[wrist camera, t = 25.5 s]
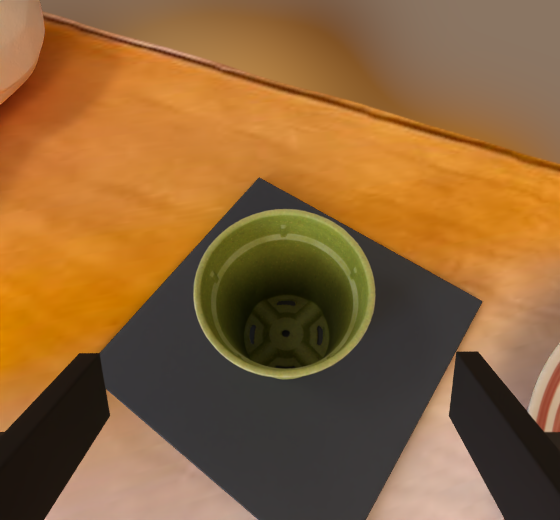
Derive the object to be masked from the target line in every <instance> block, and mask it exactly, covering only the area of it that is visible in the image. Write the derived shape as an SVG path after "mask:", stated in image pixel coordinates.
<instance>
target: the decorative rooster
mask: <svg viewBox="0 0 560 520" xmlns="http://www.w3.org/2000/svg"><path fill="white" fill-rule="evenodd" d="M44 35H45V26H44V19H43V13H42V8H41V4H40V0H0V105H1V104H2V103H3V102H4V101H5V100H6V99H7V98H9V97H10V96H11V95H12V94H13V93H14V92H15V91H16V90H17V89H18V88H19V87H20V86H21V85H22V84H23V83H24V82H25V81H26V80H27V79H28V78H29V77H30V75H31V74H32V72H33V71H34V69H35V67H36V64H37V62H38V59H39V54H40V51H41V48H42V44H43V40H44Z"/></svg>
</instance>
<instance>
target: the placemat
mask: <svg viewBox="0 0 560 520" xmlns="http://www.w3.org/2000/svg"><path fill="white" fill-rule="evenodd" d="M275 209H295V210H301V211H306V212H310V213H314V214H317V215H319V216H322V217H324V218H327V219H329V220H330V221H332V222H334V223H336V224H337V225H339V226H340V227H342V228H343V229H344V230H345V231H346V232H347V233H348V234H349V235H350V236H351V237H352V238H353V239H354V240H355V241H356V242H357V243H358V245H359V246H360V247H361V249H362V250H363V252H364V254H365V256H366V258H367V259H368V261H369V264H370V267H371V270H372V273H373V277H374V283H375V306H374V312H373V315H372V318H371V322H370V324H369V326H368V328H367V330H366V332H365V334H364V336H363V337H362V339H361V340H360V341H359V343H358V344H357V345H356V346H355V347H354V348H353V349H352V351H351V352H349V353H348V354H347V355H346V356H345V357H344V358H343V359H341V360H340V361H338V362H337V363H335V364H334V365H332V366H330V367H328V368H326V369H324V370H322V371H320V372H317V373H314V374H310V375H307V376H302V377H299V378H295V379H277V378H274V377H267V376H262V375H258V374H255V373H252V372H249V371H247V370H244V369H242V368H240V367H239V366H237V365H235V364H233V363H232V362H231V361H229V360H228V359H226V358H225V357H224V356H223V355H222V354H221V353H219V352H218V350H217V349H216V348H215V347H214V346H213V345H212V344H211V342H210V341H209V340H208V338H207V337H206V335H205V334H204V332H203V330H202V328H201V326H200V323H199V321H198V318H197V315H196V311H195V306H194V298H193V297H194V296H193V293H194V280H195V276H196V272H197V269H198V266H199V263H200V261H201V259H202V257H203V255H204V253H205V252H206V250H207V249H208V247H209V246H210V245H211V243H212V242H213V241H214V240H215V239H216V238H217V237H218V236H219V235H220V234H221V233H222V232H223V231H225V230H226V229H227V228H228V227H230V226H231V225H233V224H234V223H236V222H238V221H240V220H241V219H244V218H246V217H248V216H251V215H254V214H257V213H260V212H264V211H269V210H275ZM282 304H283V305H286V304H287V305H293V306H295V305H296V304H295V302H293V301H289V300H287V301H279V302H278V303H277V305H282ZM481 304H482V301H481V300H479V299H478V298H476V297H474V296H472V295H470V294H469V293H467V292H465V291H463V290H461V289H460V288H458V287H456V286H454V285H452V284H450V283H449V282H447V281H445V280H443V279H441V278H440V277H438V276H436V275H434V274H432V273H431V272H429V271H427V270H425V269H423V268H422V267H420V266H418V265H416V264H414V263H413V262H411V261H409V260H407V259H405V258H404V257H402V256H400V255H398V254H396V253H395V252H393V251H391V250H389V249H387V248H386V247H384V246H382V245H380V244H378V243H377V242H375V241H373V240H371V239H369V238H368V237H366V236H364V235H362V234H360V233H359V232H357V231H355V230H353V229H351V228H349V227H348V226H346V225H344V224H342V223H340V222H339V221H337V220H335V219H333V218H331V217H330V216H328V215H326V214H324V213H322V212H321V211H319V210H317V209H315V208H313V207H312V206H310V205H308V204H306V203H304V202H303V201H301V200H299V199H297V198H295V197H294V196H292V195H290V194H288V193H286V192H285V191H283V190H281V189H279V188H277V187H276V186H274V185H272V184H270V183H268V182H267V181H265V180H263V179H261V178H258V179H257V180H256V181H255V182H254V184H253V185H252V186H251V187H250V188H249V189H248V190H247V191H246V192H245V193H244V195H243V196H242V197H241V198H240V199H239V200H238V201H237V202H236V203H235V204H234V206H233V207H232V208H231V209H230V210H229V211H228V212H227V213H226V214H225V216H224V217H223V218H222V219H221V220H220V221H219V222H218V223H217V224H216V225H215V227H214V228H213V229H212V230H211V231H210V232H209V233H208V234H207V235H206V236H205V238H204V239H203V240H202V241H201V242H200V243H199V244H198V245H197V246H196V247H195V249H194V250H193V251H192V252H191V253H190V254H189V255H188V256H187V257H186V258H185V260H184V261H183V262H182V263H181V264H180V265H179V266H178V267H177V268H176V269H175V271H174V272H173V273H172V274H171V275H170V276H169V277H168V278H167V279H166V281H165V282H164V283H163V284H162V285H161V286H160V287H159V288H158V289H157V290H156V292H155V293H154V294H153V295H152V296H151V297H150V298H149V299H148V300H147V301H146V303H145V304H144V305H143V306H142V307H141V308H140V309H139V310H138V311H137V312H136V314H135V315H134V316H133V317H132V318H131V319H130V320H129V321H128V322H127V323H126V325H125V326H124V327H123V328H122V329H121V330H120V331H119V332H118V333H117V334H116V336H115V337H114V338H113V339H112V340H111V341H110V342H109V343H108V344H107V346H106V347H105V348H104V349H103V350H102V351H101V352H100V359H101V365H102V371H103V377H104V383H105V388H106V389H107V390H108V391H109V392H110V393H111V394H113V395H114V396H115V397H116V398H117V399H118V400H119V401H121V402H122V403H123V404H124V405H125V406H126V407H128V408H129V409H130V410H131V411H132V412H133V413H135V414H136V415H137V416H138V417H139V418H140V419H142V420H143V421H144V422H145V423H146V424H147V425H149V426H150V427H151V428H152V429H153V430H154V431H156V432H157V433H158V434H159V435H160V436H161V437H163V438H164V439H165V440H166V441H167V442H168V443H170V444H171V445H172V446H173V447H174V448H175V449H177V450H178V451H179V452H180V453H181V454H182V455H184V456H185V457H186V458H187V459H188V460H189V461H190V462H192V463H193V464H194V465H195V466H196V467H197V468H199V469H200V470H201V471H202V472H203V473H204V474H206V475H207V476H208V477H209V478H210V479H211V480H213V481H214V482H215V483H216V484H217V485H218V486H220V487H221V488H222V489H223V490H224V491H225V492H227V493H228V494H229V495H230V496H231V497H232V498H234V499H235V500H236V501H237V502H238V503H239V504H241V505H242V506H243V507H244V508H245V509H246V510H248V511H249V512H250V513H251V514H252V515H253V516H255V517H256V518H257V519H258V520H366V518H367V517H368V515H369V513H370V511H371V509H372V507H373V505H374V503H375V502H376V500H377V498H378V496H379V494H380V492H381V490H382V489H383V487H384V485H385V483H386V481H387V479H388V477H389V475H390V474H391V472H392V470H393V468H394V466H395V464H396V462H397V461H398V459H399V457H400V455H401V453H402V451H403V449H404V447H405V446H406V444H407V442H408V440H409V438H410V436H411V434H412V433H413V431H414V429H415V427H416V425H417V423H418V421H419V419H420V418H421V416H422V414H423V412H424V410H425V408H426V406H427V405H428V403H429V401H430V399H431V397H432V395H433V393H434V391H435V390H436V388H437V386H438V384H439V382H440V380H441V378H442V377H443V375H444V373H445V371H446V369H447V367H448V365H449V363H450V362H451V360H452V358H453V356H454V354H455V352H456V350H457V349H458V347H459V345H460V343H461V341H462V339H463V337H464V335H465V334H466V332H467V330H468V328H469V326H470V324H471V322H472V321H473V319H474V317H475V315H476V313H477V311H478V309H479V307H480V306H481ZM255 329H256V326H255V325H252V327H251V328H250V341H251V343H252V344H254V335H255ZM317 331H318V340H317V344H318V345H321V344H322V341H323V330H322V328H321V327H320V326H318V327H317ZM289 334H290V332H289V331H288V330H284V331H283V332H282V335H283V336H284V337H288V336H289ZM275 368H282V369H289V368H296V367H295V366H291V367H283V366H276V367H275Z"/></svg>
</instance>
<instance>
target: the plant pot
mask: <svg viewBox="0 0 560 520" xmlns="http://www.w3.org/2000/svg"><path fill="white" fill-rule="evenodd" d="M193 296H194V297H193V298H194V306H195V311H196V315H197V318H198V321H199V323H200V326H201V328H202V330H203V332H204V334H205V335H206V337H207V338H208V340H209V341H210V342H211V344H212V345H213V346H214V347H215V348H216V349H217V350H218V352H219V353H221V354H222V355H223V356H224V357H225V358H226V359H228V360H229V361H231V362H232V363H233V364H235V365H237V366H239V367H240V368H242V369H244V370H247V371H249V372H252V373H255V374H258V375H262V376H267V377H274V378H277V379H295V378H299V377H302V376H307V375H310V374H314V373H317V372H320V371H322V370H324V369H326V368H328V367H330V366H332V365H334V364H335V363H337V362H338V361H340V360H341V359H343V358H344V357H345V356H346V355H347V354H348V353H349V352H351V351H352V349H353V348H354V347H355V346H356V345H357V344H358V343H359V341H360V340H361V339H362V337H363V336H364V334H365V332H366V330H367V328H368V326H369V324H370V322H371V318H372V315H373V312H374V306H375V283H374V277H373V273H372V270H371V267H370V264H369V261H368V259H367V258H366V256H365V254H364V252H363V250H362V249H361V247H360V246H359V245H358V243H357V242H356V241H355V240H354V239H353V238H352V237H351V236H350V235H349V234H348V233H347V232H346V231H345V230H344V229H343V228H342V227H340V226H339V225H337V224H336V223H334V222H332V221H330V220H329V219H327V218H324V217H322V216H319V215H317V214H314V213H310V212H306V211H301V210H295V209H275V210H269V211H264V212H260V213H257V214H254V215H251V216H248V217H246V218H244V219H241V220H240V221H238V222H236V223H234V224H233V225H231V226H230V227H228V228H227V229H226V230H225V231H223V232H222V233H221V234H220V235H219V236H218V237H217V238H216V239H215V240H214V241H213V242H212V243H211V245H210V246H209V247H208V249H207V250H206V252H205V253H204V255H203V257H202V259H201V261H200V263H199V266H198V269H197V272H196V276H195V280H194V293H193ZM287 300H289V301H293V302H295V304H296V305H295V306H293V305H287V304H286V305H283V304H282V305H277V303H278V302H279V301H287ZM252 325H255V326H256V329H255V335H254V344H252V343H251V341H250V328H251V327H252ZM318 326H320V327H321V328H322V330H323V341H322V344H321V345H318V344H317V340H318V331H317V327H318ZM284 330H288V331H289V332H290V334H289V336H288V337H284V336H283V335H282V332H283V331H284ZM276 366H283V367H291V366H295V367H296V368H289V369H282V368H275V367H276Z"/></svg>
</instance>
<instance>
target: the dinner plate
mask: <svg viewBox="0 0 560 520" xmlns="http://www.w3.org/2000/svg"><path fill="white" fill-rule="evenodd" d="M527 412H528V413H529V414H530V415H531V417H532V418H533V419H534V420H535V421H536V423H537V424H538V425H539V426H540V428H541V429H542V430H543V431H544V432H560V343H559V344H558V345H557V347H556V348H555V349H554V350H553V352H552V353H551V355H550V357H549V358H548V360H547V362H546V364H545V365H544V367H543V369H542V371H541V373H540V375H539V377H538V380H537V382H536V384H535V387H534V390H533V393H532V396H531V399H530V403H529V406H528V410H527Z"/></svg>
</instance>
